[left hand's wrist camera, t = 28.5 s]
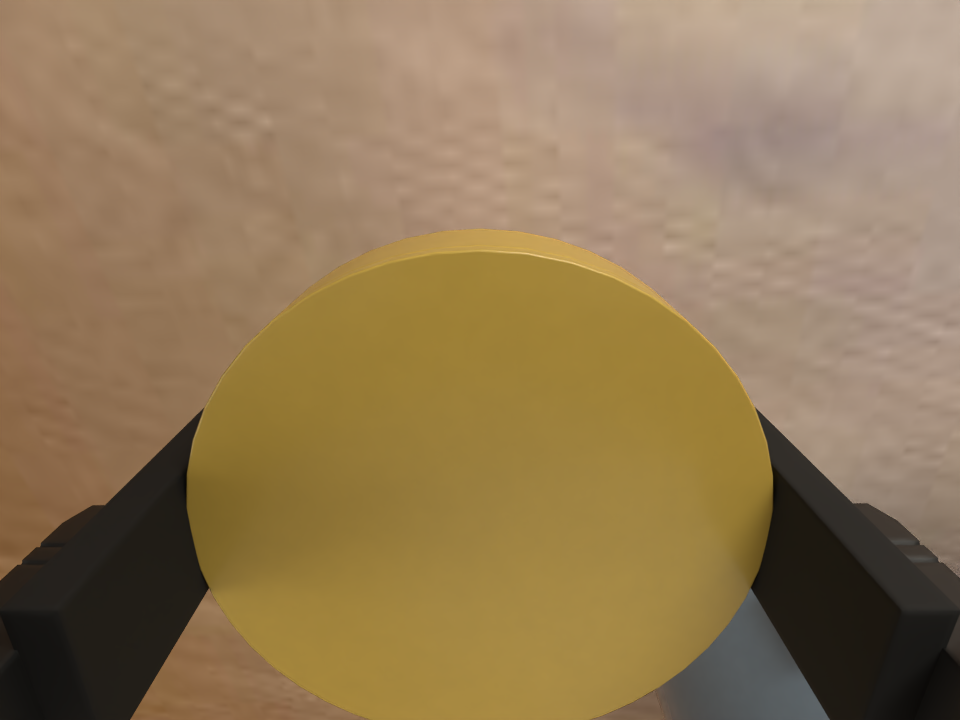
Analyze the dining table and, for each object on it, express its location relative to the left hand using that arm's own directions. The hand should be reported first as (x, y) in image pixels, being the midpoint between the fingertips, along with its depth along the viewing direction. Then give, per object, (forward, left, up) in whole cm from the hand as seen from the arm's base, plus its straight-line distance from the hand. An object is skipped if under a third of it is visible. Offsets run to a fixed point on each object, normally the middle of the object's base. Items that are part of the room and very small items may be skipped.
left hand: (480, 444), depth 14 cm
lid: (0, 0, +3) cm, 3 cm away
